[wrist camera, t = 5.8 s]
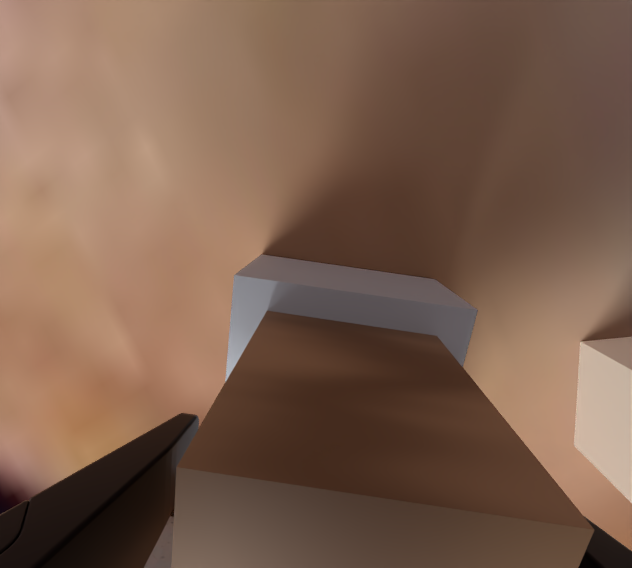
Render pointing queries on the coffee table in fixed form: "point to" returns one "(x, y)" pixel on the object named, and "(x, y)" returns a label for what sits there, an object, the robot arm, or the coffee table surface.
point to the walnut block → (363, 462)
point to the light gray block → (345, 301)
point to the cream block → (606, 409)
